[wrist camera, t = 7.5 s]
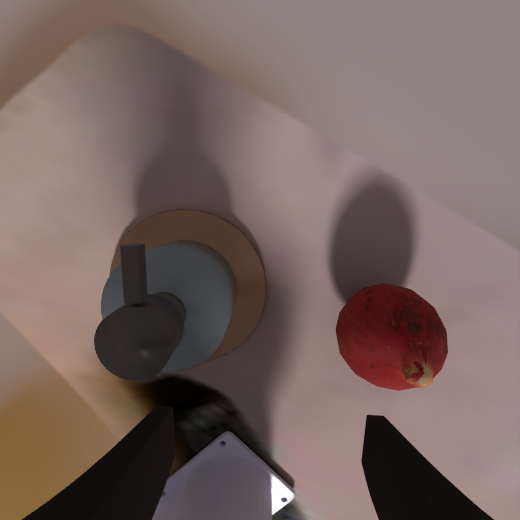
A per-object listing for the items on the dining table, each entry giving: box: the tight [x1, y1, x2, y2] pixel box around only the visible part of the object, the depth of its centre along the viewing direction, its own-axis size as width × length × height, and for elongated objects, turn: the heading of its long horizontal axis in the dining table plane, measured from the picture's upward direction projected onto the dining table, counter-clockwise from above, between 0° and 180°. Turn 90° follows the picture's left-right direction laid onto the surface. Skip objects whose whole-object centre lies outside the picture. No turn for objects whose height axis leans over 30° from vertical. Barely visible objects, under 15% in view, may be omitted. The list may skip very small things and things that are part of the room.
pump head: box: [94, 243, 184, 381], centre depth 13 cm, size 5×5×3 cm
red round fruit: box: [336, 283, 448, 391], centre depth 16 cm, size 6×6×8 cm
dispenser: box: [101, 210, 266, 371], centre depth 18 cm, size 11×11×6 cm
